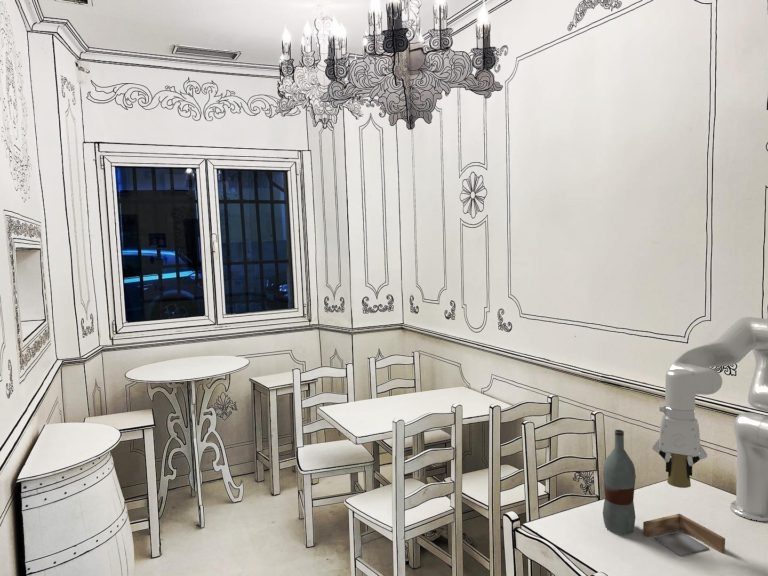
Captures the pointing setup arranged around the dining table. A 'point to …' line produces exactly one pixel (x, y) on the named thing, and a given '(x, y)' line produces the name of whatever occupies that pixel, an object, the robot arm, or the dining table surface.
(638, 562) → the dining table surface
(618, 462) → the bottle
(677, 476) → the cork
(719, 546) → the corner arena
